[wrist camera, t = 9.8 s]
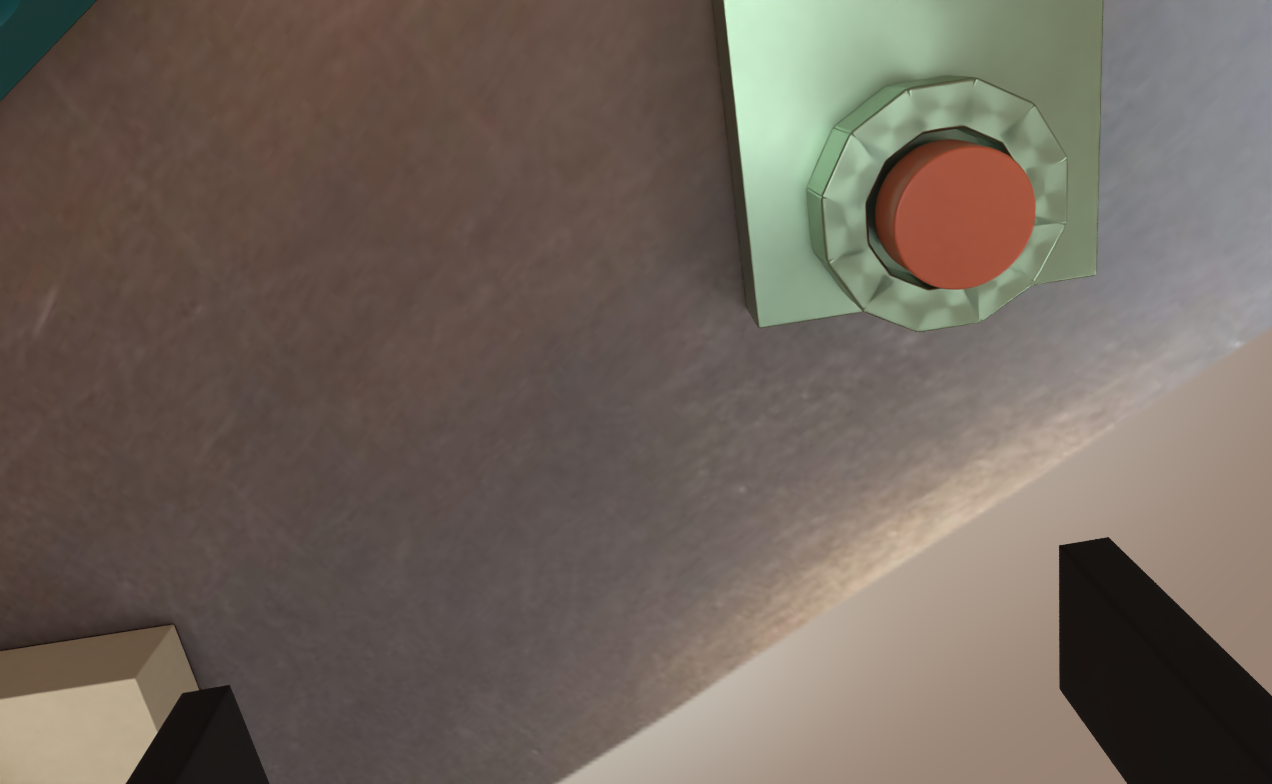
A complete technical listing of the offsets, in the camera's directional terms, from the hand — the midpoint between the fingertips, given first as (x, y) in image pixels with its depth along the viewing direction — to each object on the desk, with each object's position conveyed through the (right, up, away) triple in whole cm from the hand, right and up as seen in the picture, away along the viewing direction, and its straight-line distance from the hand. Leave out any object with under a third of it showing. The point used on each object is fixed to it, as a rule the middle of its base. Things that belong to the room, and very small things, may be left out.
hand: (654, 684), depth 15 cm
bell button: (+8, +10, +10) cm, 16 cm away
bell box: (+7, +14, +12) cm, 20 cm away
